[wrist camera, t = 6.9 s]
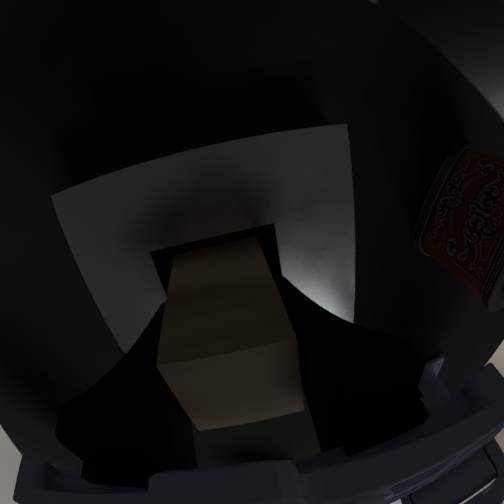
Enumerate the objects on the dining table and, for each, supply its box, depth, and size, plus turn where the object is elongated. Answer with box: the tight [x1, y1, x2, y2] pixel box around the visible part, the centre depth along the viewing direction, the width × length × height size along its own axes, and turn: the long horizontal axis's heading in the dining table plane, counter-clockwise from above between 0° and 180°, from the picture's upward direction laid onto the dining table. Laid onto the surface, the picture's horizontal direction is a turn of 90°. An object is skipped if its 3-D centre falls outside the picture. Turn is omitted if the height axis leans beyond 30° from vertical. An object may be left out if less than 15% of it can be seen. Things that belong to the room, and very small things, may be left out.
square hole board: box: [51, 122, 355, 354], centre depth 15 cm, size 13×13×2 cm
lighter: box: [412, 144, 504, 312], centre depth 12 cm, size 8×3×10 cm, turn 156°
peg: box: [156, 236, 304, 431], centre depth 12 cm, size 4×4×7 cm
